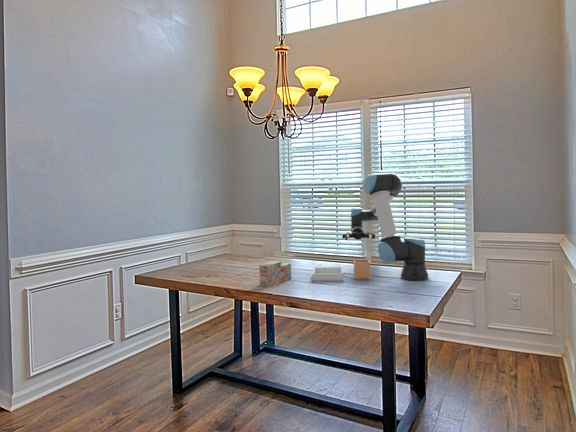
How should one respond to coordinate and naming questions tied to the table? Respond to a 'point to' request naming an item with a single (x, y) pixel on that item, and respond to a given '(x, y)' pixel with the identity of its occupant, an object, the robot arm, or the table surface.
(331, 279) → the grey crate
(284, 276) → the stack of blocks
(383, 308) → the table surface
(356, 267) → the terracotta crate
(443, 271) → the table surface
